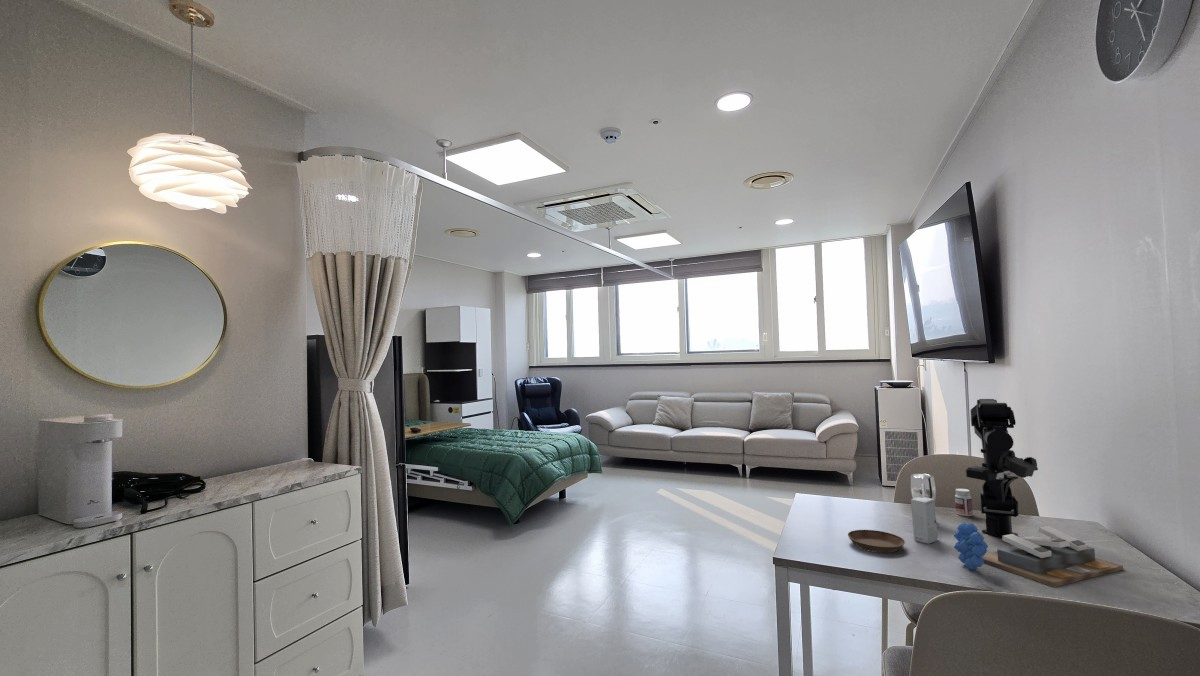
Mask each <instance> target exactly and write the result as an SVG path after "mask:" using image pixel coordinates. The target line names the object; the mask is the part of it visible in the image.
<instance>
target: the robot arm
mask: <svg viewBox="0 0 1200 676" xmlns="http://www.w3.org/2000/svg"><path fill="white" fill-rule="evenodd" d="M1016 423H1017V422H1016V418H1015V413H1014V410H1013V409H1012V407H1011V406H1008V404H1007V402H997V399H994V398H979V399H976V404H975V405H974V406H973V407H972V408H971V409H970V424H971V427H973V430H974V433H975V435H976V436H977V437H978V438H979V439H980V441H981V446H982V447H981V449H980V453H982V456H983V462H982V463H981V466H978V465H975V466H970V467H967V468H965V476H966V478H970V479H974V480H975V479H976V480H980V481H984V483H983V485H982V488H981V492H979V508H980V509H979V510H980V513H981V514H982V515H984V514H985V527H986V528H985V529H982V530H981V533H984V534H987V533H988V534H987V535H992V536H995V537H997V538H1001V539H1002V537H1003V536H1004V535H1009V534H1014V535H1018V536H1019V534H1018V533H1017V532H1013V528H1012V527H1013V526H1012V525H1013V524H1012V517H1014V518H1017V517H1019V501H1018V500H1017V499H1016V496H1015V495H1013V494H1012V488H1011V486H1010V485H1011V483H1012V482H1014V481H1016V480H1018V479H1019V478H1023V479H1024V478H1026V477H1033V475H1034V472H1035V471H1038V470H1039V467H1038V463H1037V462H1038V461H1037V459H1036V458H1035V457H1032V456H1029V457H1028V456H1027V457H1025V458H1023V457H1022V458H1021V457H1017V456H1016V453H1015V451H1014V450H1012V448H1013V447H1014V439H1013V437H1012V435H1011V434H1010V433H1009V431H1008V429H1014V428H1015V426H1016ZM1014 474H1015V475H1016V476H1014Z"/></svg>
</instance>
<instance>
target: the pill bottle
mask: <svg viewBox="0 0 1200 676" xmlns="http://www.w3.org/2000/svg"><path fill="white" fill-rule="evenodd" d="M954 502H955V503H954V504H955V512H956V514H957V515H959V516H962V517H963V516H964V517H971V516H972V517H973V515H974V509H973V498H972V496H971V491H970V490H969V489H966V488H955V495H954Z"/></svg>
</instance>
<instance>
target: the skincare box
mask: <svg viewBox="0 0 1200 676" xmlns="http://www.w3.org/2000/svg"><path fill="white" fill-rule="evenodd" d="M935 505H936V503H935V504H934V499H931V498H925V497H918V498H914V499H913V498H911V499H910V507H911V509H910V510H911V520H912V530H913V540H914V541H915V542H919V543H924V544H931V543H934V542H936V541H938V539H939V536H938V527H937V524H938V523H937V517H936V516H937V515H936V507H935Z"/></svg>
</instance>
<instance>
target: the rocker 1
mask: <svg viewBox="0 0 1200 676" xmlns="http://www.w3.org/2000/svg"><path fill="white" fill-rule="evenodd" d="M1001 541H1003V542H1006V543H1008V544H1010V545H1012V546H1016V547H1018V548H1020V549H1023V550H1025V551H1027V552H1029V553H1031V554H1033V555H1036V556H1038V557H1040V558H1044V557H1049V556H1051V553H1052V551H1050V550H1048V549H1045V548H1043V547H1041V546H1038V545H1036V544H1034V543H1032V542H1029V541H1027V540H1025V539H1023V537H1020V536H1019V535H1018V536H1016V535H1014V534H1009V535H1004V536H1003V537H1002V538H1001Z"/></svg>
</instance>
